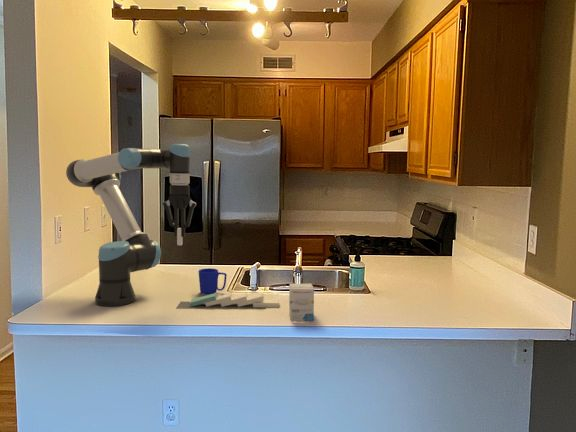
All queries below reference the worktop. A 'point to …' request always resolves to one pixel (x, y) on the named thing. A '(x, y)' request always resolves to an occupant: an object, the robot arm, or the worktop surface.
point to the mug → (210, 280)
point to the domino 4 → (266, 303)
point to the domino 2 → (235, 300)
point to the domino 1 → (220, 299)
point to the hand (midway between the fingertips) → (179, 244)
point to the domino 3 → (252, 299)
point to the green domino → (203, 299)
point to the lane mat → (215, 306)
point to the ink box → (301, 302)
